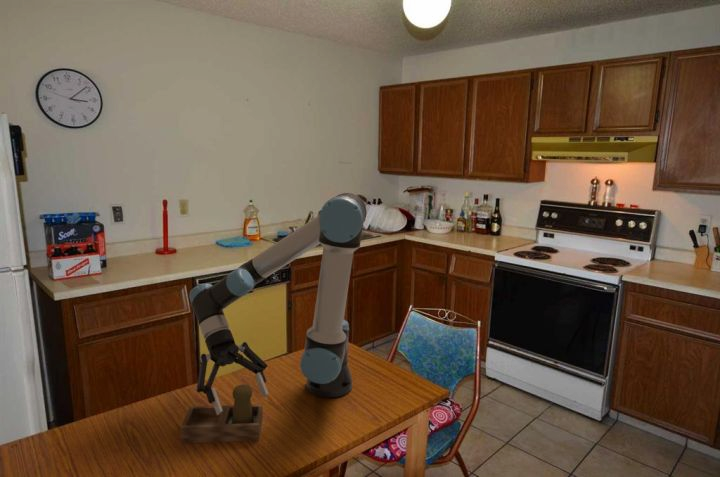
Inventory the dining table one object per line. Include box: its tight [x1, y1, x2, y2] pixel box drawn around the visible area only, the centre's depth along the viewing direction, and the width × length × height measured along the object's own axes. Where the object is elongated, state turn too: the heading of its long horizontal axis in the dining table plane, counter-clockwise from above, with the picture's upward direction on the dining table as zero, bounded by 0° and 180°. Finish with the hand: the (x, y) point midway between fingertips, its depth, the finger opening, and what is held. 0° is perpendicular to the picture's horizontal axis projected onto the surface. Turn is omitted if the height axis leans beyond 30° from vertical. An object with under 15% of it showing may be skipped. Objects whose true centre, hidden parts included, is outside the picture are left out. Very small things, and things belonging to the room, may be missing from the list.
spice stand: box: [179, 403, 264, 444], centre depth 124 cm, size 20×10×4 cm, turn 96°
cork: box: [232, 384, 254, 424], centre depth 124 cm, size 6×6×11 cm
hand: (243, 404), depth 122 cm, fingers open, 13 cm apart
